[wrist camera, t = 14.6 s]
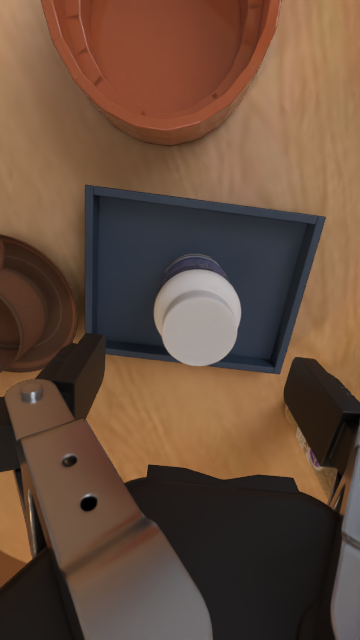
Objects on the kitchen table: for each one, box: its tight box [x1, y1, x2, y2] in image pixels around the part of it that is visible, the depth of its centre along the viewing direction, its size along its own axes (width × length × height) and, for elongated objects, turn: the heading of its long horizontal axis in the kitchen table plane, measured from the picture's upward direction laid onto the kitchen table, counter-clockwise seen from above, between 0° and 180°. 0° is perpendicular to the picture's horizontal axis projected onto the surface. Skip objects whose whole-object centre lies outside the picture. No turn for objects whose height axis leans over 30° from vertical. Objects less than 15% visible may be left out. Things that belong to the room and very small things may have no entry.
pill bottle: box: [154, 254, 241, 366], centre depth 19 cm, size 5×5×10 cm
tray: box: [85, 185, 326, 374], centre depth 23 cm, size 17×13×2 cm
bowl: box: [41, 0, 282, 145], centre depth 16 cm, size 12×12×4 cm
